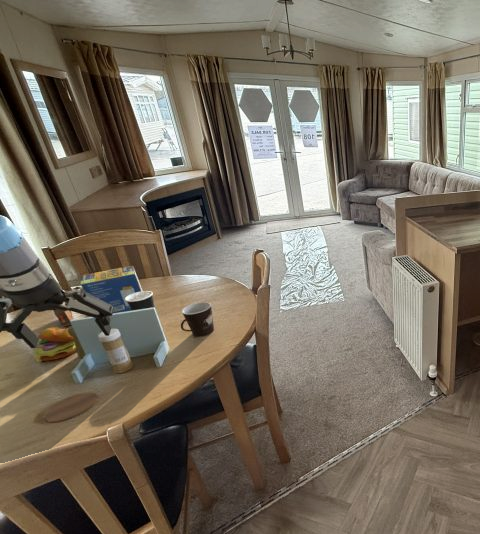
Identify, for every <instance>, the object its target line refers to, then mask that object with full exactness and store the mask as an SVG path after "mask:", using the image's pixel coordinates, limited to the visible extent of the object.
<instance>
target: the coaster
mask: <svg viewBox="0 0 480 534" xmlns="http://www.w3.org/2000/svg"><path fill="white" fill-rule="evenodd" d="M98 399H99V396H98V395H97V394H96V393H94V392H90V391H88V392H81V393H77V394H73V395H69V396H68V397H66V398H63V399H61V400H59V401H57V402H56V403H55V404H53V405H52V406H50V407H49V408H48V409H47V410H46V411H45V413H44V415H43V419H44V421H45V422H47V423H61V422H65V421H68V420H71V419H74V418H76V417H78V416H80V415H82V414H84V413H85V412H87V411H89V409H91V408H93V406H95V404H96V403H97V402H98Z"/></svg>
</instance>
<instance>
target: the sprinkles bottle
mask: <svg viewBox="0 0 480 534" xmlns="http://www.w3.org/2000/svg"><path fill="white" fill-rule="evenodd" d="M98 338H99V340H100V341H101V343H102V344H103V346H104V349H105V352H106V354H107V356H108V358H109V361H110V362H109V363H110V364H111V367H112V368H113V372H114V373H115V374H123V373H126V372H129V371H130V370H132V369H133V367H134V363H133V362H132V360H131V358H130V356H129V354H128V352H127V349H126V348H125V345H124V343H123V341H122V339H121V334H120V332H119V330H118V329H111V331H110V335H109V336H105V334H104V333H103V332H101V333H100V334H99V335H98Z"/></svg>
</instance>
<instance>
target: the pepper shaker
mask: <svg viewBox="0 0 480 534" xmlns="http://www.w3.org/2000/svg"><path fill="white" fill-rule="evenodd" d="M69 327H70V328H69ZM69 327H68V328H69V329H68V333H69V335H70V336H72V337H73V338H74V342H75V346H76V353H77V358H78V359H79V360H82V359H83V358H84V356H85V355H86V354H85V352H84V350H83V348H82V346H81V344H80V342H79V339H78V337H77V335H76V333H75V331H74V329H73V327H72V325H71V326H69Z"/></svg>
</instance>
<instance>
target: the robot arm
mask: <svg viewBox="0 0 480 534" xmlns="http://www.w3.org/2000/svg"><path fill="white" fill-rule="evenodd" d="M0 290H1V292H2V293H3V294H4V295H5V296H4V295H0V333H2V332H6V333H10V334H11V335H12V336H13V337H14V338H15V339H16V340H22V341H24V343H25V344H27V346H28V347H30V348H31V349H35V348H36V346H37V345H38V344H39V341H40V339H39V338H38V337H39V336H38V335H36V334H35V332H34V331H33V330H32V329H31V328H30V327H29V326H28V325H27V324H26V323H25V322H24V321H25V320H26V319H27V318H28V317H29V316H30V315H31V314H32V313H33V312H37V313H43V312H47V311H53V310H57V309H59V310H63V311H67V310H69V311H71V312H72V313H76V314H80V315H82V316H86V317H94V318H95V322H96V323H97V325H98V326H99V327H100V329H101V330H102V332H103V333H104V334H105V336H109V335H110V331H111V326H110V320H111V319H110V318H109V316H112V315H113V310H114V307H113V306H111V305H109V304H108V303H106V302H104V301H102V300H100V299H98V298H96V297H94V296H92V295H90V294H88V293H86V292H85V291H84V290H83V288H82V286H75V287H74V289H73V290H64V289H62V288H61V286H60V284H59V283H58V281H57V280H56V279H55V277H54V276H53V275H52V273H51V272H50V270H49V268H47V266H46V265H45V264H44V263H43V261H42V259H40V258H39V256H38V255H37V254H36V252H35V251H34V249H33V248H32V246H30V244H29V242H28V241H27V240H26V238H25V237H24V235H23V233H22V232H21V231H20V229H19V227H17V226H16V225H15V224H14V223H13V222H12V221H11V220H10V219H9V218H8V217H6V216H5V215H1V214H0ZM64 301H65V302H66V303H65V305H62V304H63V303H64ZM12 305H13V306H15V307H18V308H21V309H20V310H19V311H18V313H17V314H16V315H15V316H14V317H13V318H12V319H11V320H10V322H7V318H8V312H9V308H10V307H11V306H12Z"/></svg>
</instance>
